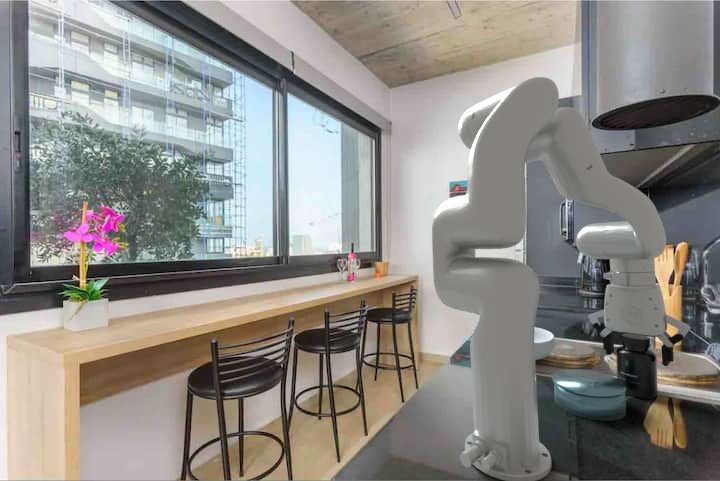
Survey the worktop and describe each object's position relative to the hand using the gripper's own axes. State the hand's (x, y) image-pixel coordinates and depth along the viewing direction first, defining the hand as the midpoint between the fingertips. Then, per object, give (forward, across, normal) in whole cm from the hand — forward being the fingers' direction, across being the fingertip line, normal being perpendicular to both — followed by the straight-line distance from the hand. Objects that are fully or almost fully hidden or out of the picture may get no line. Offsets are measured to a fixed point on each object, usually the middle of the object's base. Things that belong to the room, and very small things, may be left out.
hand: (636, 358), depth 75 cm
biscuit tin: (+7, -5, -14) cm, 16 cm away
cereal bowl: (+7, -27, +3) cm, 28 cm away
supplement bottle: (+7, 0, -1) cm, 7 cm away
